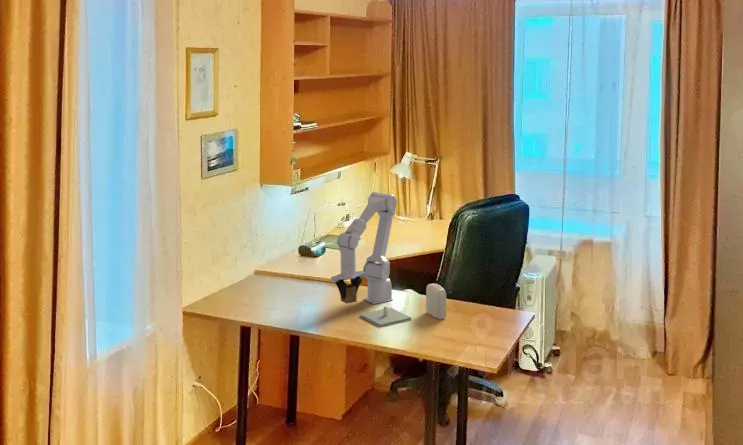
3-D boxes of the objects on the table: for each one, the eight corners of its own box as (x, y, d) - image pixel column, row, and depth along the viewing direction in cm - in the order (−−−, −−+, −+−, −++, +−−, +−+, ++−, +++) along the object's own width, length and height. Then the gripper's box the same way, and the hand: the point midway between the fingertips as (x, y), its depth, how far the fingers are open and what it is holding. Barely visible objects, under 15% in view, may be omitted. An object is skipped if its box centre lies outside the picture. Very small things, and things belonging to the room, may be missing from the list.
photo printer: (424, 312, 329) (424, 281, 326) (434, 310, 330) (434, 280, 328) (437, 320, 320) (438, 289, 317) (447, 318, 321) (448, 287, 319)
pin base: (390, 309, 331) (390, 298, 330) (411, 319, 320) (411, 307, 319) (360, 316, 324) (360, 304, 323) (380, 327, 313) (380, 314, 311)
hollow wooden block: (350, 298, 331) (350, 283, 330) (356, 301, 328) (356, 286, 326) (340, 300, 329) (340, 285, 328) (346, 303, 325) (346, 288, 324)
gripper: (337, 268, 318) (337, 303, 321) (369, 262, 325) (369, 296, 328) (327, 264, 323) (328, 298, 327) (359, 258, 331) (360, 291, 334)
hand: (348, 297), depth 328 cm, fingers closed on hollow wooden block, 4 cm apart
